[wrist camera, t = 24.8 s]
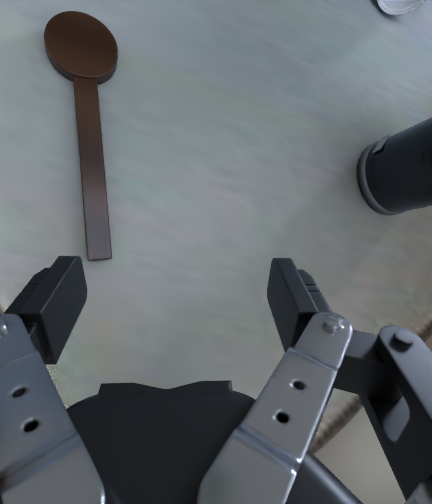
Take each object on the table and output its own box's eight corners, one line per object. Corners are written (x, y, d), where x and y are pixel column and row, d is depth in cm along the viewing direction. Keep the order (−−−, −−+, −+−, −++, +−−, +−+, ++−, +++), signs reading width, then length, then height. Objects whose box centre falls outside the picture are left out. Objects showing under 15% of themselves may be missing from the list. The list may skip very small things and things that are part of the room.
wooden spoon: (134, 257, 27) (136, 256, 26) (62, 262, 25) (61, 262, 24) (114, 29, 28) (115, 19, 27) (43, 15, 26) (41, 3, 25)
